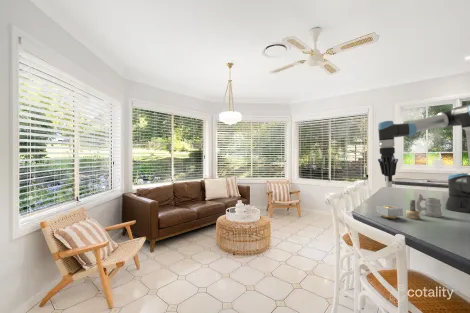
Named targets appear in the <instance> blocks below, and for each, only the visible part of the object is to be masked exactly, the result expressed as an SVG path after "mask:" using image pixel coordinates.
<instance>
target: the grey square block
mask: <svg viewBox="0 0 470 313" xmlns="http://www.w3.org/2000/svg"><path fill="white" fill-rule="evenodd" d="M386 207H392V208H386ZM375 210H376V212H375V213H377V214H379V215H381V216H382V215H385V216H397V217H402V216H403V217H404V211H403V210H404V208H403V207H398V206H396V205H390V204H388V205H387V204H385V205H376V208H375Z"/></svg>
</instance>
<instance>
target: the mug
mask: <svg viewBox="0 0 470 313" xmlns="http://www.w3.org/2000/svg"><path fill="white" fill-rule="evenodd" d="M423 201H425V203H424V205H425V206H421V202H423ZM415 209H416V210H417V211H420V213H421V212H422V211H424V213H425V216H427V217H431V218H432V217H433V218H441V217H442V215H443V212H442V203H441V199H440V198H437V197H426V198H424V196H423V195H422V194H421V193H418V197H417V201H416V202H415Z"/></svg>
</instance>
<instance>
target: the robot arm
mask: <svg viewBox="0 0 470 313" xmlns="http://www.w3.org/2000/svg"><path fill="white" fill-rule="evenodd" d="M377 125H378V126H377V127H378V129H377V130H378V143H379V154H380V158H377V161H378V163H379V167H380V172H381V175H383V176H384V181H385V187H386V188H392V187H393V176H396V172H397V171H396V170H397V164H398V161H399V159H398V158H395V155H394V154H395V153H396V150H395V138H404V137H411V136H415V135H416V134H417V133H418V132H423V131H427V130H431V129H436V128H443V129H444V128H448V127H458V126H461V129H462V130H464V131H465V137H466V146H467V147H466V148H467V153H468V154H467V156H468V162H469V166H470V103H469V104H465V105H460V106H457V107H454V108H451V109H449V110H445V111H442V112H439V113H437V114H436V115H431V116H429V117H423V118H420V119H414V120H411V121H406V122H403V123H394V121H393V120H384V121H383V120H382V121H380V122H378V124H377ZM447 182H448V184H447V186H448V188H447V189H448V197H447V200H446V203H445V205H444V208H445V209H446V210H448V211H453V212H461V213H470V171H469V172H468V173H467V172H466V173H450V174H449V175H448V179H447Z"/></svg>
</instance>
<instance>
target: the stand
mask: <svg viewBox="0 0 470 313" xmlns="http://www.w3.org/2000/svg"><path fill="white" fill-rule="evenodd" d="M405 212H406V214H405V216H406V218H407V219H409V218H410V220H420V219H421V218H420V217H421V214H420V213H421V212H420V211H418V210H417V209H416V200H414V199H409V209H406V210H405Z"/></svg>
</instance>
